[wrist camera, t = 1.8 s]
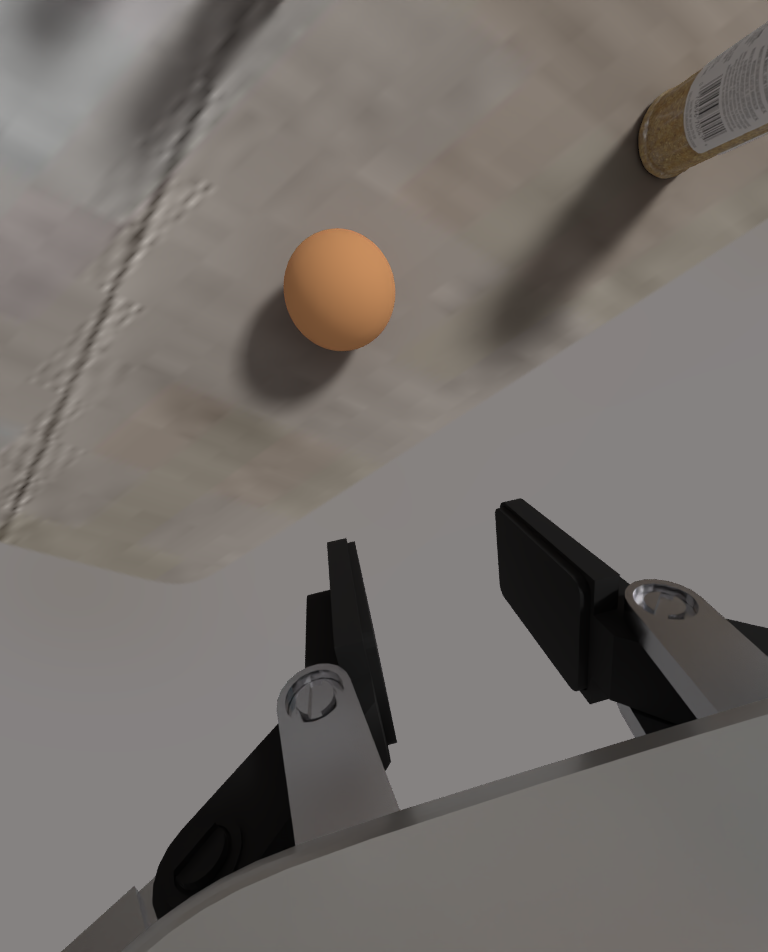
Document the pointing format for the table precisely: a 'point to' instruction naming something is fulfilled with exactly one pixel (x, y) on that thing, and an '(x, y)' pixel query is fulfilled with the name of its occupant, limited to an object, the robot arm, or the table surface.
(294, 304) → the ball
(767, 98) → the sprinkles bottle
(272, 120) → the table surface
